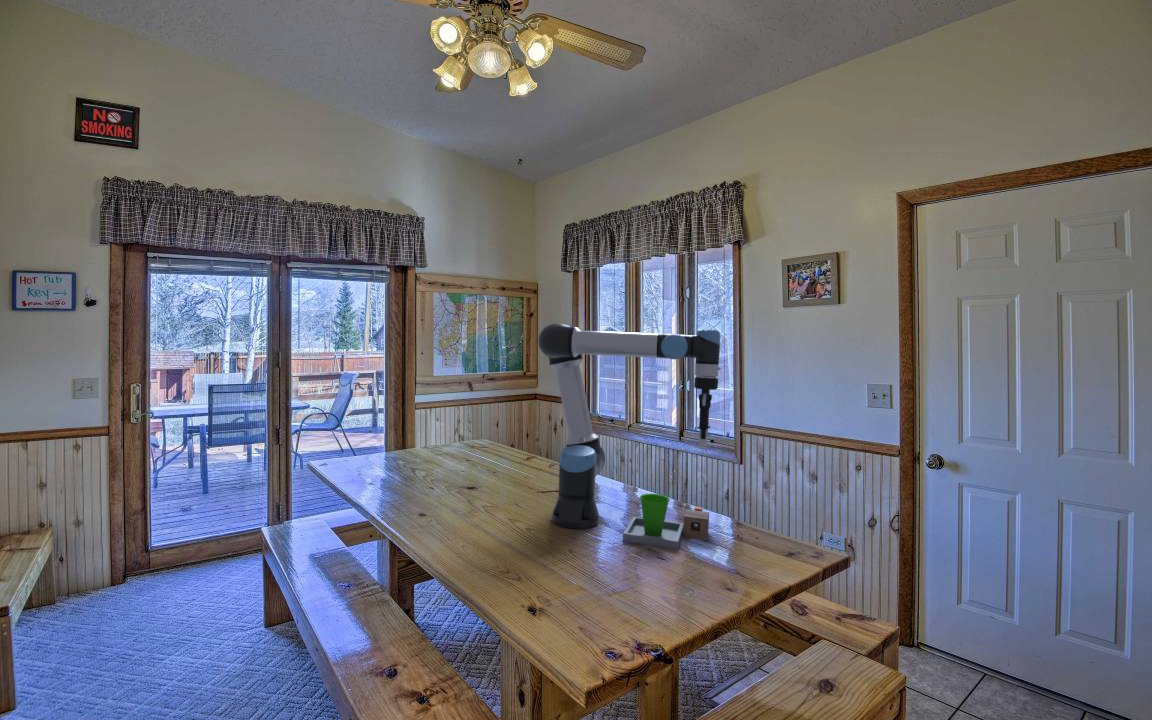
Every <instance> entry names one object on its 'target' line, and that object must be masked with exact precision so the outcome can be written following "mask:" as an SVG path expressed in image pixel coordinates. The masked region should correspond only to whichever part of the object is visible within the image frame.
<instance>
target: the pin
mask: <svg viewBox="0 0 1152 720" xmlns="http://www.w3.org/2000/svg"><path fill="white" fill-rule="evenodd" d="M694 510H695V511H703V507H702V506H694ZM699 525H700V523H697V522H693V525H692V526H693V528H694V529H698V528H699Z"/></svg>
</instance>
